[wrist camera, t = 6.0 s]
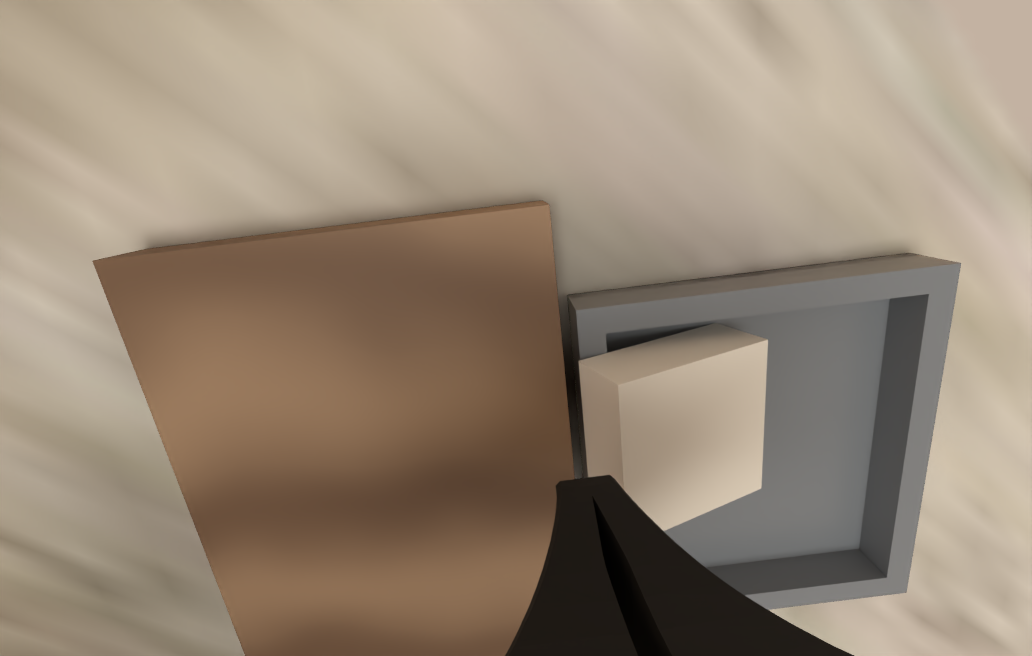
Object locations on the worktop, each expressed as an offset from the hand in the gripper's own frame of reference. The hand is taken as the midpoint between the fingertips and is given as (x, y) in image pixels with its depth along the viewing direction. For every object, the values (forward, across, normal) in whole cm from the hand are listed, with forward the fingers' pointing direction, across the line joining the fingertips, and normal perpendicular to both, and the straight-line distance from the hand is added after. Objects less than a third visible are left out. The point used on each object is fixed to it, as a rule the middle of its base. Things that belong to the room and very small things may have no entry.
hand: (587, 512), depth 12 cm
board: (+5, +6, +2) cm, 8 cm away
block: (+4, -3, 0) cm, 5 cm away
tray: (+5, -6, +2) cm, 8 cm away
